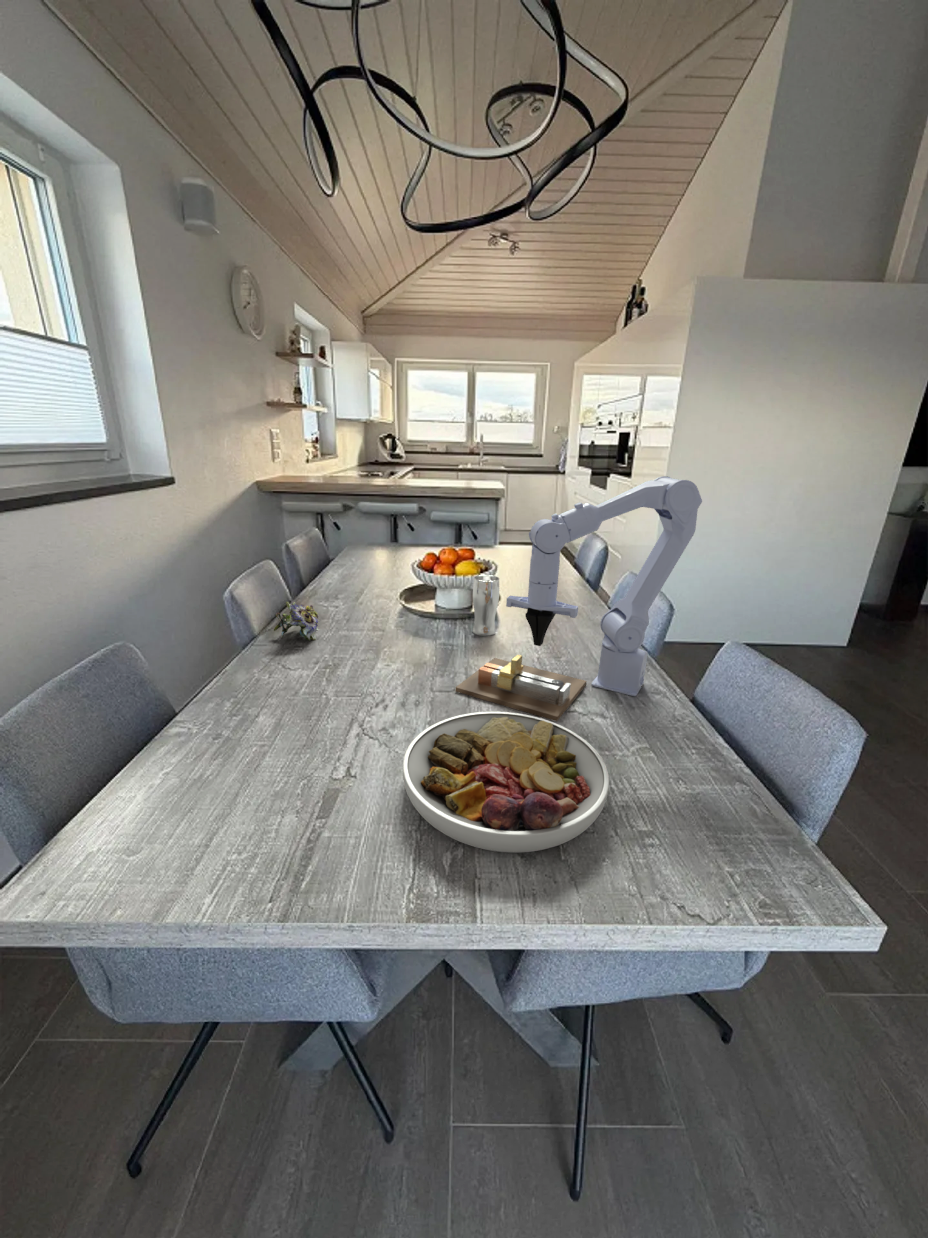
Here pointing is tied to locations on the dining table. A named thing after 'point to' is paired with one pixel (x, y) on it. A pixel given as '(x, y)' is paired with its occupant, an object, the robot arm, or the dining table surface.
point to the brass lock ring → (509, 673)
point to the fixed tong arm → (527, 687)
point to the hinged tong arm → (530, 676)
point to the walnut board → (519, 701)
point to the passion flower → (299, 620)
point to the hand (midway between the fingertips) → (538, 644)
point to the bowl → (505, 781)
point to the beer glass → (485, 604)
